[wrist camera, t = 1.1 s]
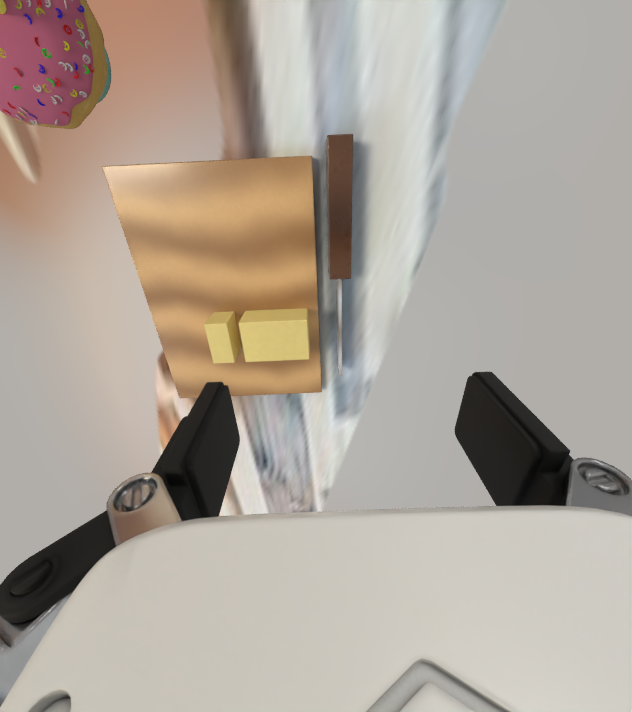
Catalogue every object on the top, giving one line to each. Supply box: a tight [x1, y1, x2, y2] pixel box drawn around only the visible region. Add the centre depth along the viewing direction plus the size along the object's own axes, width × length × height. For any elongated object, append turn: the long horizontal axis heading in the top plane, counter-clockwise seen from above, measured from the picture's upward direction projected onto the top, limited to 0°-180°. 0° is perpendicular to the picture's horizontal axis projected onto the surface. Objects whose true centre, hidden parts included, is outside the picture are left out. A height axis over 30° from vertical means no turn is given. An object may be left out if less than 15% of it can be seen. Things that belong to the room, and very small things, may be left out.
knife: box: [326, 134, 353, 376], centre depth 26 cm, size 20×2×3 cm, turn 2°
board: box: [102, 156, 322, 398], centre depth 28 cm, size 22×16×1 cm
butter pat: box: [204, 311, 241, 364], centre depth 28 cm, size 4×2×3 cm, turn 2°
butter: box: [238, 308, 310, 362], centre depth 28 cm, size 4×6×3 cm, turn 92°
